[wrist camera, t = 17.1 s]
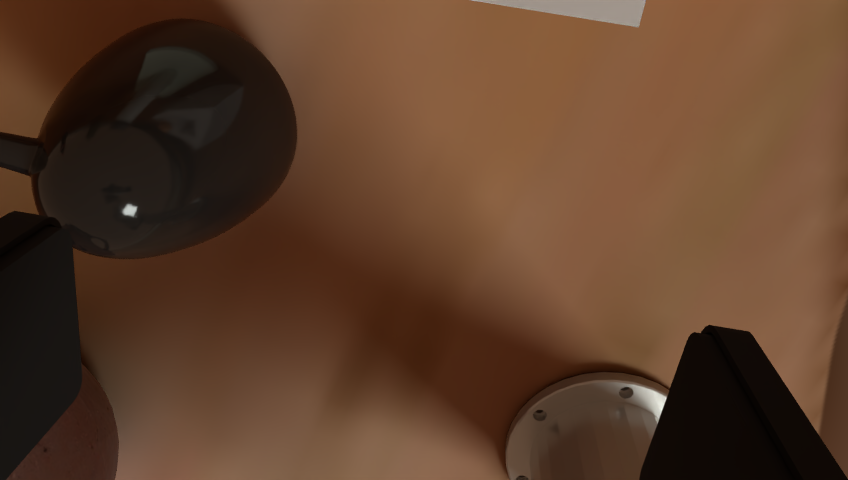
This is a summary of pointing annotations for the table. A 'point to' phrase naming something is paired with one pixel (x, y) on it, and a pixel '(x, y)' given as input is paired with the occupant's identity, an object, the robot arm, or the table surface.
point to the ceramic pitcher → (76, 441)
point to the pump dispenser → (160, 141)
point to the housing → (584, 9)
